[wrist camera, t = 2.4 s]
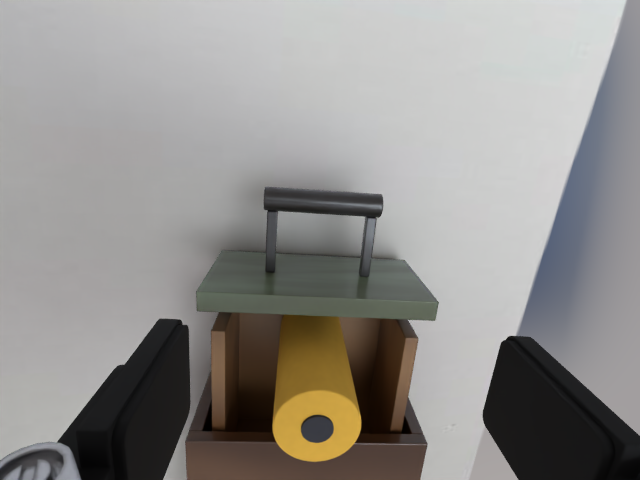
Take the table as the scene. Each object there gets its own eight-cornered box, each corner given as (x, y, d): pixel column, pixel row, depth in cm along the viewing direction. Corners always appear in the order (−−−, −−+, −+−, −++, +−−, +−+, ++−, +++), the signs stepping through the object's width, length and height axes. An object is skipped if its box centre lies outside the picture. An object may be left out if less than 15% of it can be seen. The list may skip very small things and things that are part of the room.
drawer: (221, 175, 24) (193, 193, 18) (415, 189, 25) (456, 210, 19) (221, 414, 30) (201, 494, 24) (380, 417, 31) (402, 494, 25)
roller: (282, 297, 26) (273, 391, 17) (342, 300, 26) (367, 393, 17) (279, 350, 27) (270, 464, 18) (337, 352, 28) (357, 465, 18)
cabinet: (216, 353, 29) (184, 441, 21) (392, 358, 30) (428, 444, 22) (217, 496, 34) (191, 614, 26) (370, 496, 35) (393, 609, 27)
